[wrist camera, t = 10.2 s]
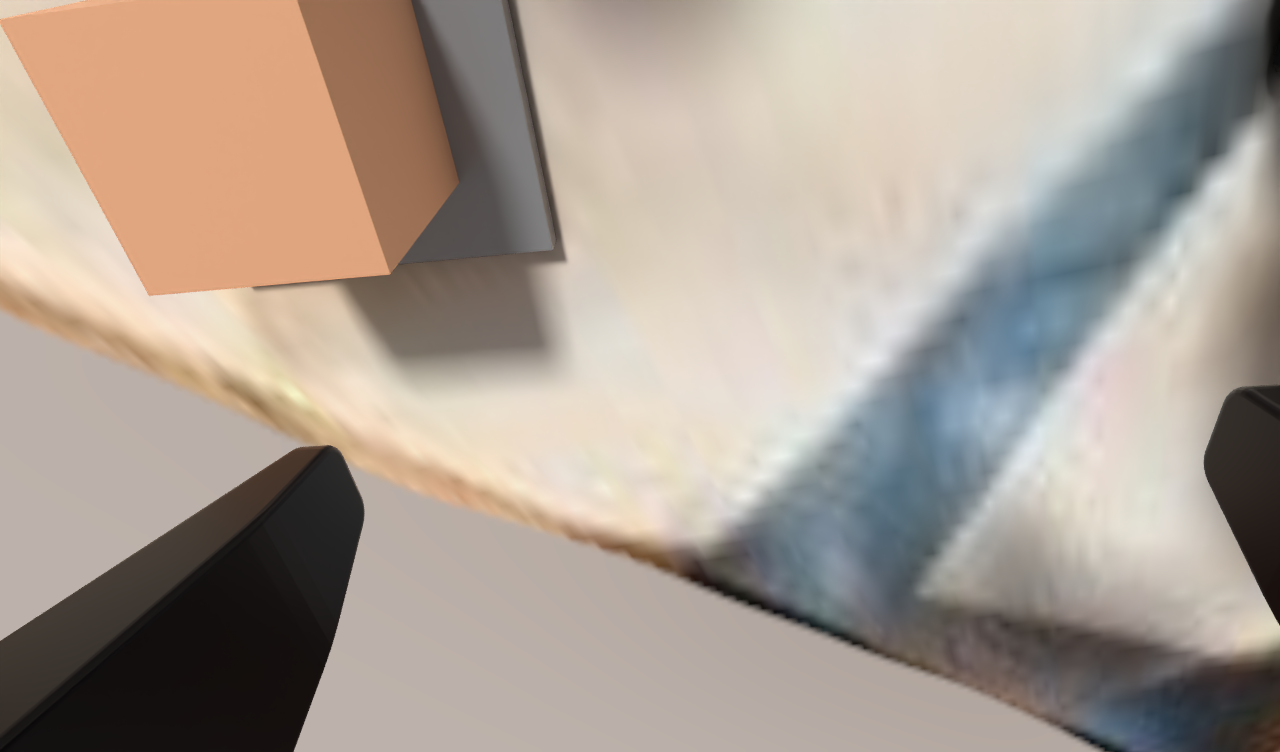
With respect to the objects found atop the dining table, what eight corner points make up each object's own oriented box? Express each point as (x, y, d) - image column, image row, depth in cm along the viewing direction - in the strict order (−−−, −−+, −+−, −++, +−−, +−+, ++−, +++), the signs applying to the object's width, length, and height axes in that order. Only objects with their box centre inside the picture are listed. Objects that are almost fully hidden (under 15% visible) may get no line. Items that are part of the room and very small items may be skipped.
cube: (459, 182, 18) (390, 274, 14) (268, 202, 19) (149, 295, 15) (397, -51, 16) (289, -22, 11) (177, -19, 16) (-3, 19, 12)
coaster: (470, -184, 15) (462, -187, 14) (556, 240, 20) (552, 250, 19) (58, -116, 16) (38, -115, 15) (238, 270, 21) (227, 280, 20)
